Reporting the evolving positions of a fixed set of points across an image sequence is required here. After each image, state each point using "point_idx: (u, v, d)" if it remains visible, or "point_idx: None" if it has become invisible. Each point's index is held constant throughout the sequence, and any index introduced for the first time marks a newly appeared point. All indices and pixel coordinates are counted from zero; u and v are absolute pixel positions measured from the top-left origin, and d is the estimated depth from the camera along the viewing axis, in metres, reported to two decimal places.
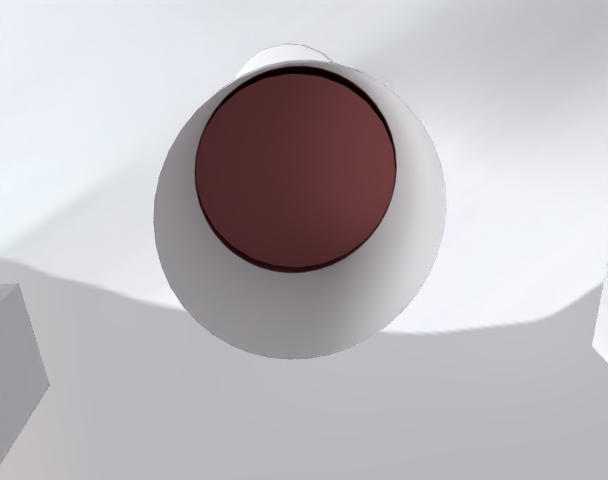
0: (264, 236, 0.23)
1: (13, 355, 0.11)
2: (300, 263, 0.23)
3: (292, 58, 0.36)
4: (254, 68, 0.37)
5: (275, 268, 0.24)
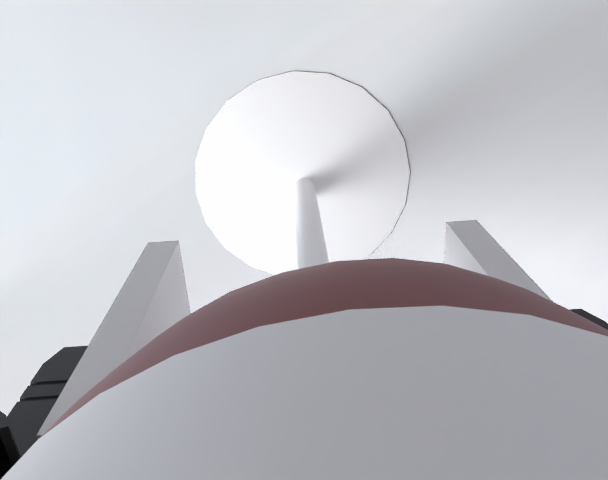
0: None
1: (179, 301, 0.13)
2: None
3: (308, 96, 0.20)
4: (239, 114, 0.20)
5: None
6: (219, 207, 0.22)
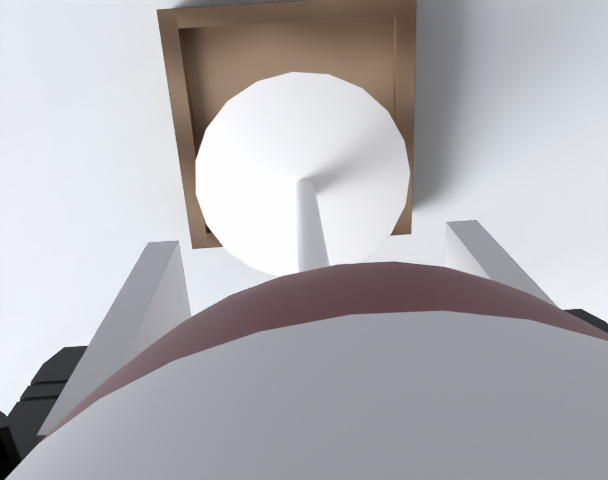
0: None
1: (179, 301, 0.13)
2: None
3: (308, 97, 0.20)
4: (239, 115, 0.20)
5: None
6: (220, 208, 0.22)
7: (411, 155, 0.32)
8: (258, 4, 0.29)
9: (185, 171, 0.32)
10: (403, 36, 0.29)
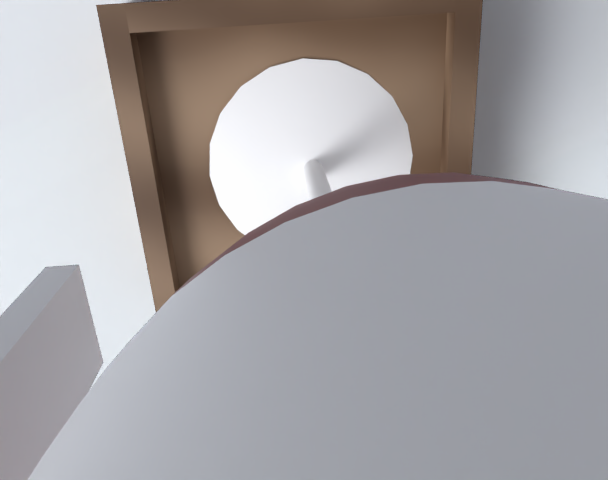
0: None
1: (76, 331, 0.12)
2: None
3: (317, 82, 0.21)
4: (252, 99, 0.21)
5: None
6: (232, 189, 0.23)
7: None
8: None
9: (147, 234, 0.23)
10: (462, 44, 0.20)
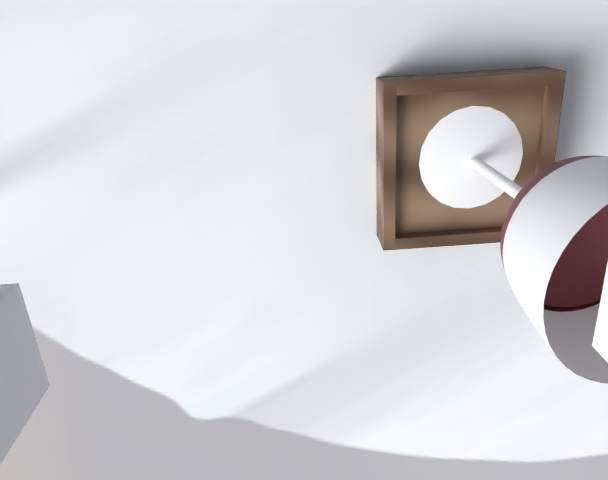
0: (547, 283, 0.29)
1: (13, 355, 0.11)
2: (570, 303, 0.29)
3: (479, 117, 0.43)
4: (445, 126, 0.43)
5: (548, 307, 0.30)
6: (430, 171, 0.44)
7: None
8: (454, 79, 0.41)
9: (386, 194, 0.44)
10: (553, 100, 0.41)
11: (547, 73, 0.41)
